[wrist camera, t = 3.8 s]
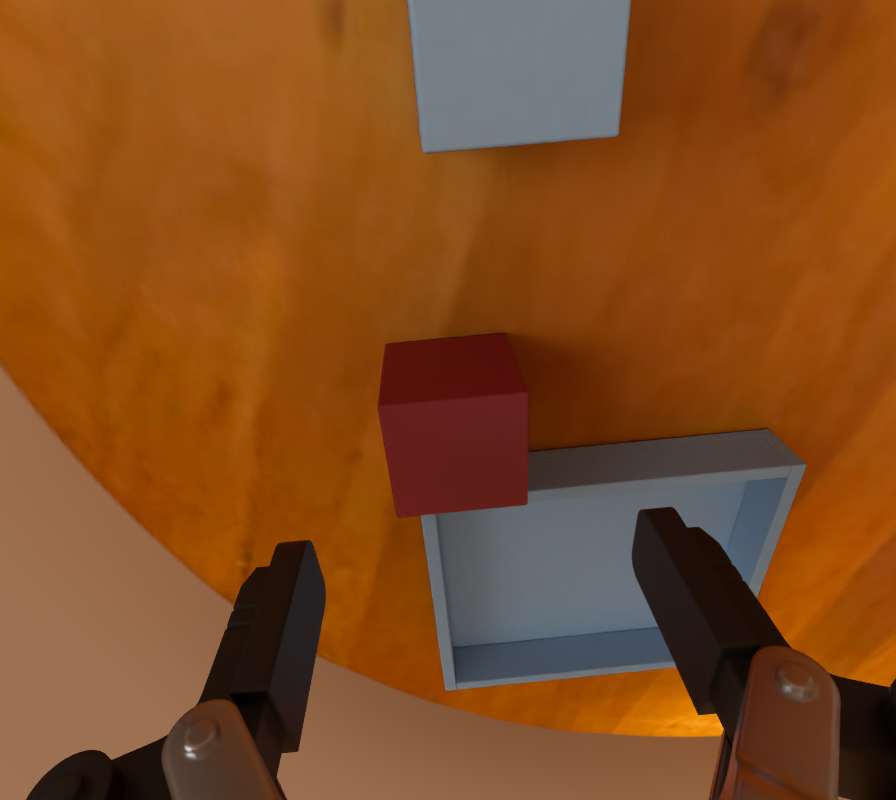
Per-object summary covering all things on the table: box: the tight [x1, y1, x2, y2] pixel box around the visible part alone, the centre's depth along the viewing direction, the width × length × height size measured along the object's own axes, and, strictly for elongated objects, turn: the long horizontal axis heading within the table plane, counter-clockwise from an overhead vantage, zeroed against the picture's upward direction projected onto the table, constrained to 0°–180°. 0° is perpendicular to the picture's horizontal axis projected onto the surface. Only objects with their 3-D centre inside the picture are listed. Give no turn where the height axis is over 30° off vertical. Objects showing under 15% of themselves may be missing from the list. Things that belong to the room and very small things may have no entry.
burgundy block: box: [378, 333, 529, 518], centre depth 18 cm, size 4×4×4 cm
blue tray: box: [421, 429, 807, 691], centre depth 24 cm, size 15×13×2 cm
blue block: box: [407, 0, 631, 154], centre depth 12 cm, size 4×4×4 cm
